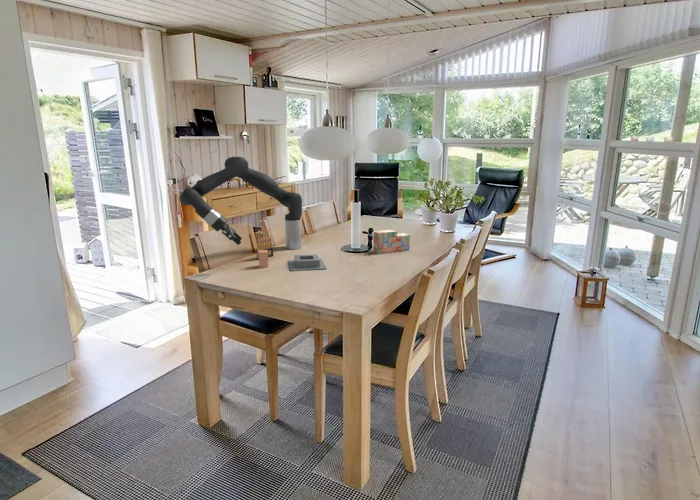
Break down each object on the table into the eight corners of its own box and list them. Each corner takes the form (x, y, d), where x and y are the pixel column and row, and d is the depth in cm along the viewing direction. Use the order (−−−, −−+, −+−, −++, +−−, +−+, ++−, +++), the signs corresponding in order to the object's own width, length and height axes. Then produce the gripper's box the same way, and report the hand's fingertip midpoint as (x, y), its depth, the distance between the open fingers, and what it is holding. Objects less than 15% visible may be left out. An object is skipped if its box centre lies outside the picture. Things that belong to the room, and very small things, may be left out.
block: (259, 265, 230) (258, 250, 228) (268, 264, 230) (267, 250, 228) (259, 267, 225) (258, 252, 223) (268, 267, 226) (267, 252, 224)
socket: (288, 261, 237) (288, 254, 236) (321, 260, 240) (321, 252, 239) (290, 271, 220) (290, 263, 219) (326, 269, 223) (326, 261, 222)
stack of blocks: (403, 247, 270) (404, 228, 266) (409, 250, 264) (410, 230, 261) (372, 251, 261) (373, 230, 258) (378, 253, 255) (378, 232, 252)
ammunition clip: (259, 260, 240) (258, 238, 237) (256, 259, 241) (255, 238, 238) (273, 256, 248) (272, 235, 245) (271, 255, 249) (270, 234, 246)
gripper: (219, 216, 211) (245, 239, 216) (221, 212, 224) (245, 233, 229) (208, 228, 211) (234, 250, 216) (211, 222, 225) (236, 243, 229)
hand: (240, 241), depth 223 cm, fingers open, 8 cm apart
